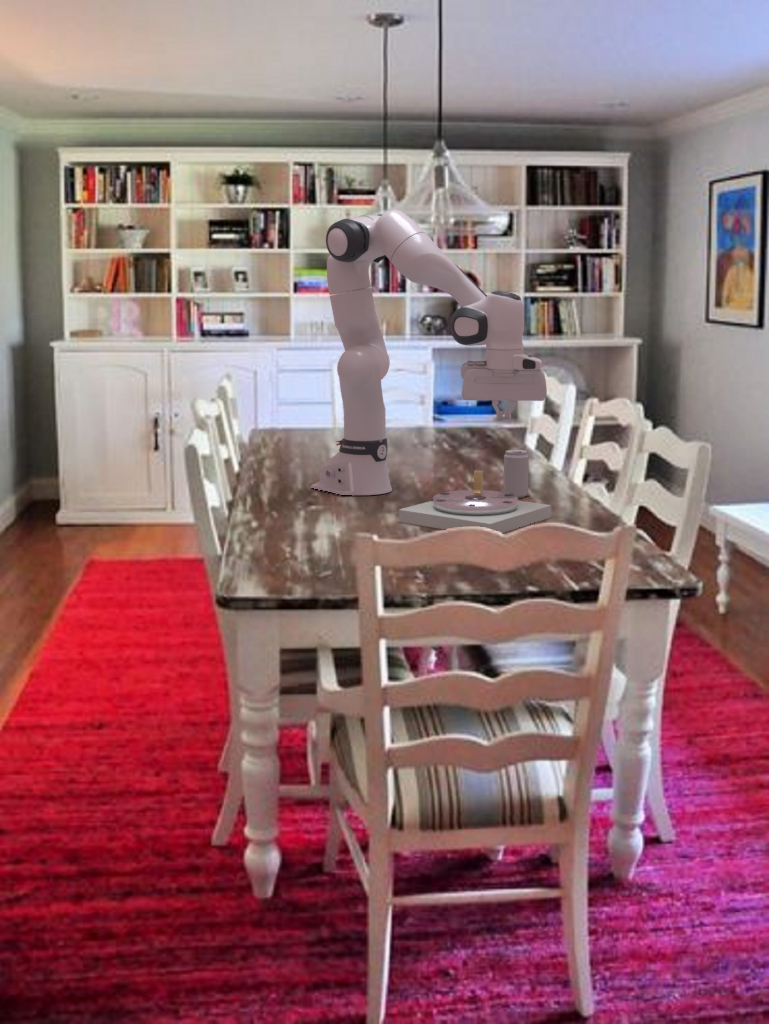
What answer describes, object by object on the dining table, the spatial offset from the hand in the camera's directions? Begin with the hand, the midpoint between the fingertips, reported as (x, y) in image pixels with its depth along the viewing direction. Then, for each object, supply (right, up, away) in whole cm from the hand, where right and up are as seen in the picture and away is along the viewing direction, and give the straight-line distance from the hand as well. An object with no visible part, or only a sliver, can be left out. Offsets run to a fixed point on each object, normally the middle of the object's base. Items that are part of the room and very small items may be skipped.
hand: (503, 419), depth 289 cm
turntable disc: (-7, -21, -3) cm, 22 cm away
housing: (-7, -24, -2) cm, 25 cm away
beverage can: (+6, -18, +26) cm, 32 cm away
